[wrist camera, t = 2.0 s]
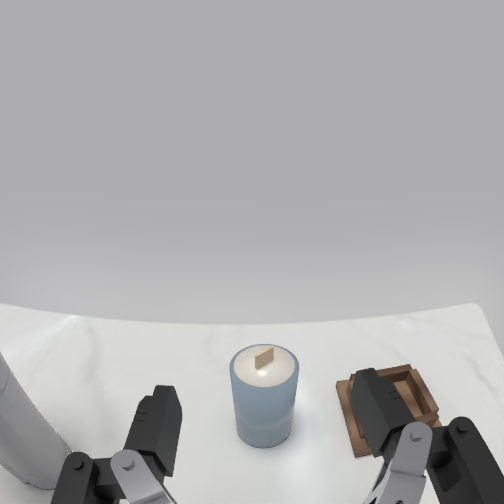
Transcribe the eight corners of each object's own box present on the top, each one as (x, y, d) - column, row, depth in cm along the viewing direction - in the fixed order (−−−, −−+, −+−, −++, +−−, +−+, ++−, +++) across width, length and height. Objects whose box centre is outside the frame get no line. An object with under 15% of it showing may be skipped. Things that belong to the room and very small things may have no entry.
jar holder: (439, 431, 21) (449, 418, 20) (355, 457, 22) (362, 445, 21) (408, 373, 33) (415, 358, 32) (335, 385, 33) (339, 371, 32)
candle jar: (260, 457, 23) (260, 388, 19) (226, 423, 28) (214, 347, 23) (301, 426, 27) (315, 351, 22) (266, 399, 32) (267, 321, 27)
